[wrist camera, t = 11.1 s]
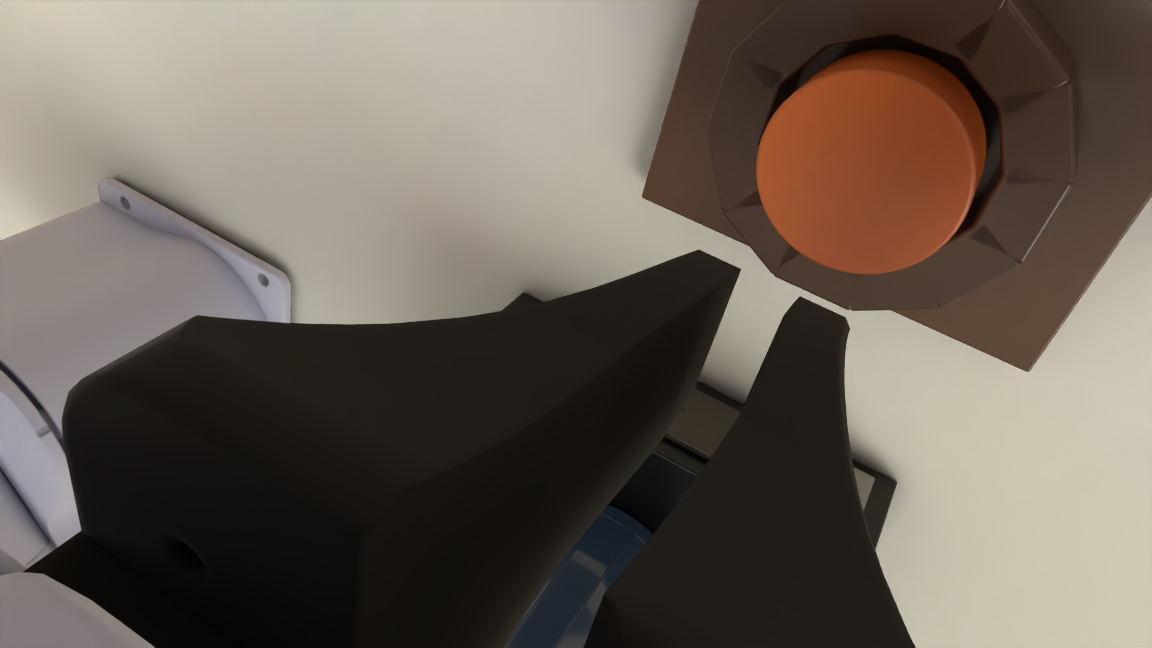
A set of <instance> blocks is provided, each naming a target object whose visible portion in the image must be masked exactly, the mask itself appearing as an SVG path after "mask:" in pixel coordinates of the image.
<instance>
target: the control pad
mask: <svg viewBox="0 0 1152 648" xmlns="http://www.w3.org/2000/svg"><path fill="white" fill-rule="evenodd" d="M877 49H889V50H899V51H906V52H910V53H913V54H917V55H920V56H923V57H925V58H927V59H930V60H932V61H934V62H936V63H937V64H939V65H941V66H942V67H944V68H946V69H947V70H948V71H949V72H951V73H952V74H953V75H954V76H955V77H957V78H958V79H959V80H960V82H961V83H962V84H963V85H964V86H965V87H966V88H967V90H968V91H969V93H970V94H971V96H972V97H973V99H974V100H975V102H976V104H977V106H978V108H979V111H980V113H981V116H982V119H983V123H984V126H985V133H986V158H985V165H984V169H983V172H982V175H981V178H980V181H979V184H978V187H977V189H976V192H975V195H974V197H973V200H972V203H971V206H970V208H969V210H968V212H967V215H966V217H965V219H964V221H963V222H962V224H961V225H960V227H959V228H958V230H957V231H956V233H955V234H954V235H953V236H952V237H951V238H950V240H949V241H948V242H947V243H946V244H945V245H943V246H942V247H941V248H940V249H939V250H938V251H937V252H935V253H934V254H932V255H931V256H929V257H928V258H926V259H924V260H922V261H920V262H918V263H916V264H914V265H912V266H909V267H906V268H904V269H901V270H897V271H892V272H888V273H880V274H854V273H847V272H842V271H838V270H834V269H831V268H828V267H825V266H823V265H820V264H818V263H816V262H814V261H812V260H810V259H808V258H807V257H805V256H804V255H802V254H801V253H799V252H798V251H797V250H795V249H794V248H793V247H792V246H791V245H790V244H788V243H787V242H786V241H785V239H784V238H783V237H782V236H781V235H780V234H779V233H778V231H777V230H776V229H775V227H774V226H773V224H772V223H771V221H770V219H769V217H768V216H767V214H766V212H765V210H764V207H763V204H762V202H761V199H760V195H759V191H758V187H757V178H756V161H757V154H758V148H759V145H760V141H761V138H762V135H763V133H764V131H765V129H766V126H767V124H768V123H769V121H770V119H771V118H772V116H773V115H774V113H775V112H776V111H777V109H778V108H779V107H780V106H781V105H782V103H783V102H784V101H785V100H787V99H788V98H789V97H790V96H791V95H792V94H793V93H794V92H795V91H796V90H797V89H799V88H800V87H801V86H802V85H803V84H804V83H805V82H806V81H807V80H809V79H810V78H811V77H812V76H813V75H814V74H815V73H816V72H818V71H819V70H821V69H822V68H824V67H825V66H826V65H828V64H830V63H832V62H834V61H836V60H838V59H840V58H842V57H845V56H848V55H850V54H854V53H858V52H862V51H868V50H877ZM1151 196H1152V0H699V2H698V5H697V8H696V12H695V15H694V19H693V22H692V26H691V29H690V32H689V36H688V39H687V43H686V46H685V50H684V53H683V56H682V60H681V63H680V67H679V70H678V74H677V77H676V81H675V84H674V87H673V91H672V94H671V98H670V101H669V105H668V108H667V111H666V115H665V118H664V122H663V125H662V129H661V132H660V136H659V139H658V142H657V146H656V149H655V153H654V156H653V160H652V163H651V166H650V170H649V173H648V177H647V180H646V184H645V187H644V190H643V194H642V197H643V198H644V199H646V200H649V201H651V202H653V203H655V204H658V205H660V206H662V207H664V208H666V209H669V210H671V211H673V212H675V213H677V214H680V215H682V216H684V217H686V218H688V219H691V220H693V221H695V222H697V223H699V224H702V225H704V226H706V227H708V228H711V229H713V230H715V231H717V232H719V233H722V234H724V235H726V236H728V237H730V238H733V239H735V240H737V241H739V242H741V243H744V244H746V245H748V246H750V247H751V248H752V250H753V251H754V252H755V253H756V255H757V256H758V257H759V258H760V259H761V261H762V262H763V263H764V264H765V266H766V267H767V268H768V269H769V271H770V272H771V273H772V274H774V276H775V277H777V278H780V279H782V280H784V281H786V282H788V283H790V284H793V285H795V286H797V287H799V288H801V289H803V290H806V291H808V292H810V293H812V294H814V295H817V296H819V297H821V298H823V299H825V300H827V301H830V302H832V303H834V304H836V305H838V306H840V307H843V308H845V309H847V310H850V309H851V310H852V311H861V310H892V311H894V312H896V313H898V314H900V315H903V316H905V317H907V318H909V319H912V320H914V321H916V322H918V323H920V324H923V325H925V326H927V327H929V328H931V329H934V330H936V331H938V332H940V333H942V334H945V335H947V336H949V337H951V338H953V339H956V340H958V341H960V342H962V343H965V344H967V345H969V346H971V347H973V348H976V349H978V350H980V351H982V352H984V353H987V354H989V355H991V356H993V357H995V358H998V359H1000V360H1002V361H1004V362H1006V363H1009V364H1011V365H1013V366H1015V367H1018V368H1020V369H1022V370H1024V371H1026V372H1029V371H1030V370H1031V369H1032V367H1033V366H1034V364H1035V363H1036V362H1037V360H1038V359H1039V357H1040V356H1041V354H1042V353H1043V352H1044V350H1045V349H1046V347H1047V346H1048V344H1049V343H1050V341H1051V340H1052V339H1053V337H1054V336H1055V334H1056V333H1057V331H1058V330H1059V329H1060V327H1061V326H1062V324H1063V323H1064V321H1065V320H1066V318H1067V317H1068V316H1069V314H1070V313H1071V311H1072V310H1073V308H1074V307H1075V306H1076V304H1077V303H1078V301H1079V300H1080V298H1081V297H1082V295H1083V294H1084V293H1085V291H1086V290H1087V288H1088V287H1089V285H1090V284H1091V283H1092V281H1093V280H1094V278H1095V277H1096V275H1097V274H1098V272H1099V271H1100V270H1101V268H1102V267H1103V265H1104V264H1105V262H1106V261H1107V260H1108V258H1109V257H1110V255H1111V254H1112V252H1113V251H1114V249H1115V248H1116V247H1117V245H1118V244H1119V242H1120V241H1121V239H1122V238H1123V237H1124V235H1125V234H1126V232H1127V231H1128V229H1129V228H1130V226H1131V225H1132V224H1133V222H1134V221H1135V219H1136V218H1137V216H1138V215H1139V214H1140V212H1141V211H1142V209H1143V208H1144V206H1145V205H1146V203H1147V202H1148V201H1149V199H1150V198H1151Z"/></svg>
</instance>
